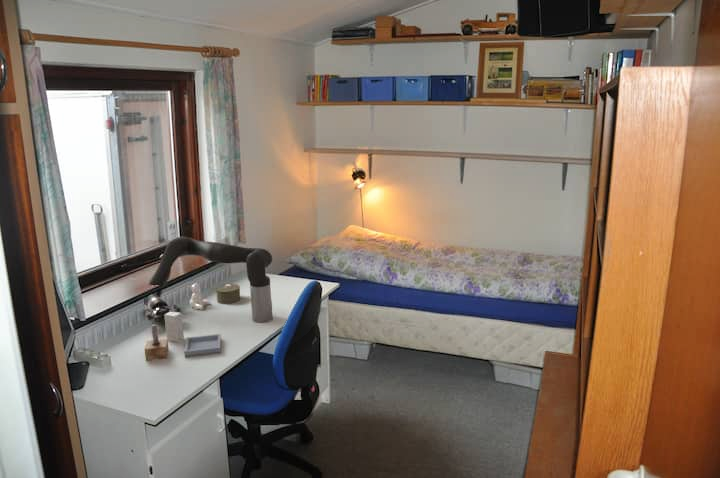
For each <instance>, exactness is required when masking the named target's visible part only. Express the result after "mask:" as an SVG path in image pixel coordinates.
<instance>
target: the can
mask: <svg viewBox="0 0 720 478" xmlns="http://www.w3.org/2000/svg"><path fill="white" fill-rule="evenodd" d="M240 288H241V287H240V285H239V284H237V283H226V284H221V285H219V286H216V288H215V293H216V301H217V303H218V304H220V305H231V304H232V303H233V304H236V303H238V302H240V300H241V292H240V290H241V289H240Z"/></svg>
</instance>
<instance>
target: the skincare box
mask: <svg viewBox="0 0 720 478" xmlns="http://www.w3.org/2000/svg"><path fill="white" fill-rule="evenodd" d="M163 317H164V324H165V332H166V333H165V334H166V339H168V342H176V343H180V342H181V341H182V340H184V339H185V334H184V332H185V331H184V326H183V315H182V312H180V313H178V312H174V311H173V312H168V313H167V314H165V315H164V316H163Z"/></svg>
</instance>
